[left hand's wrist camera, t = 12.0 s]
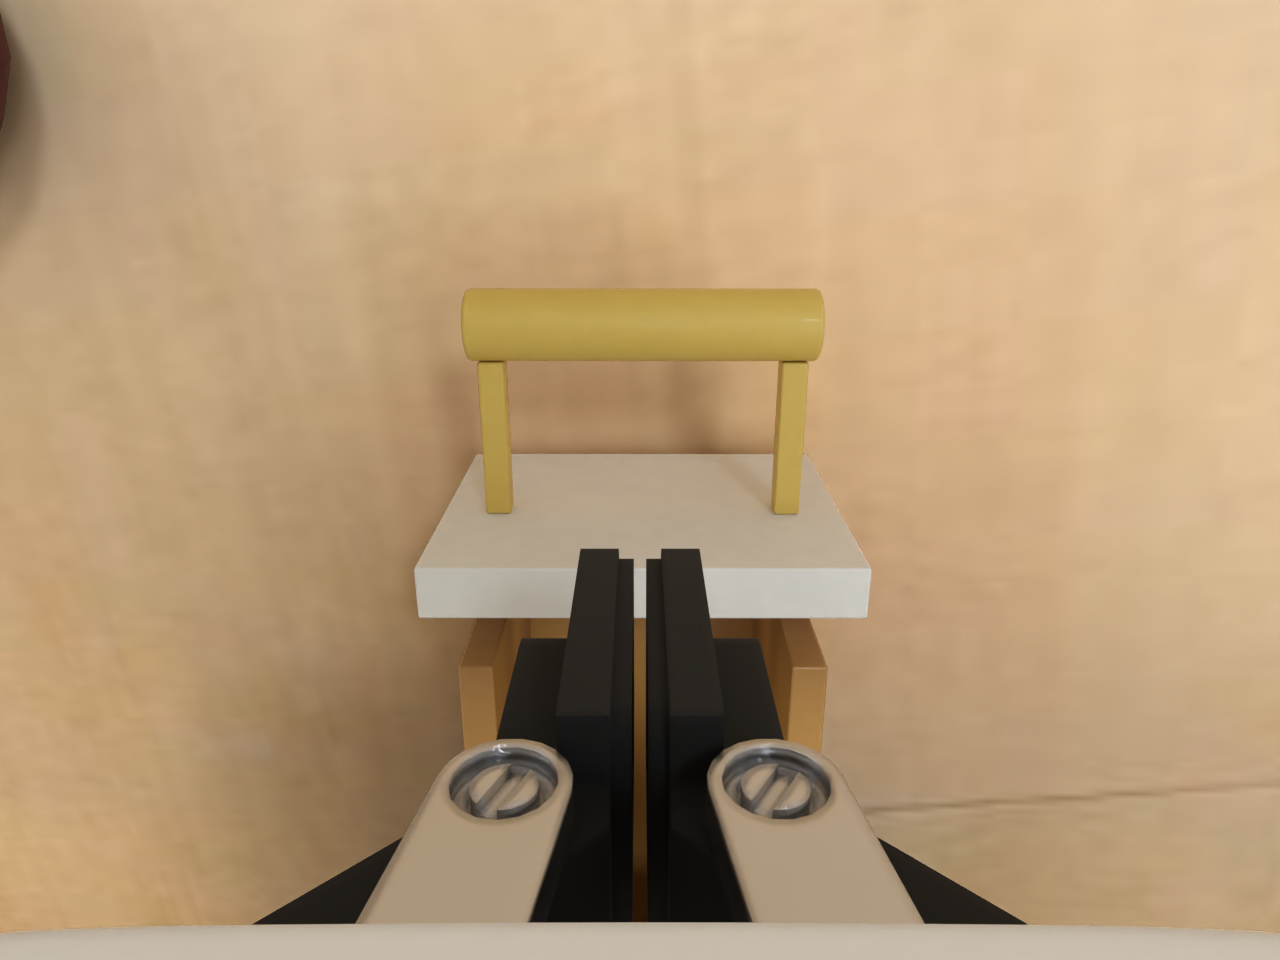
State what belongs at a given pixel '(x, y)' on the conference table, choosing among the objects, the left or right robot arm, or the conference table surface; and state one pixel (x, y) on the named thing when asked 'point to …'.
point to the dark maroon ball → (3, 70)
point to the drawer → (643, 505)
